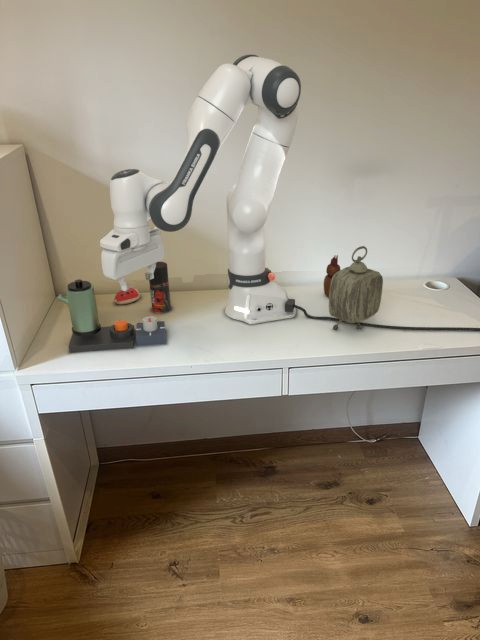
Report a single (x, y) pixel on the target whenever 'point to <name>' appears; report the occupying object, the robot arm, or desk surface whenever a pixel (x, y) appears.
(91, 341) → the kettle base
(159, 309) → the deodorant
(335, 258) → the wooden figurine
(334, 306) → the tabletop clock
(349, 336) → the desk surface
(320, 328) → the desk surface
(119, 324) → the power button
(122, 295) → the ladybug figurine
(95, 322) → the kettle
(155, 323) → the temp dial
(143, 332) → the control pad
